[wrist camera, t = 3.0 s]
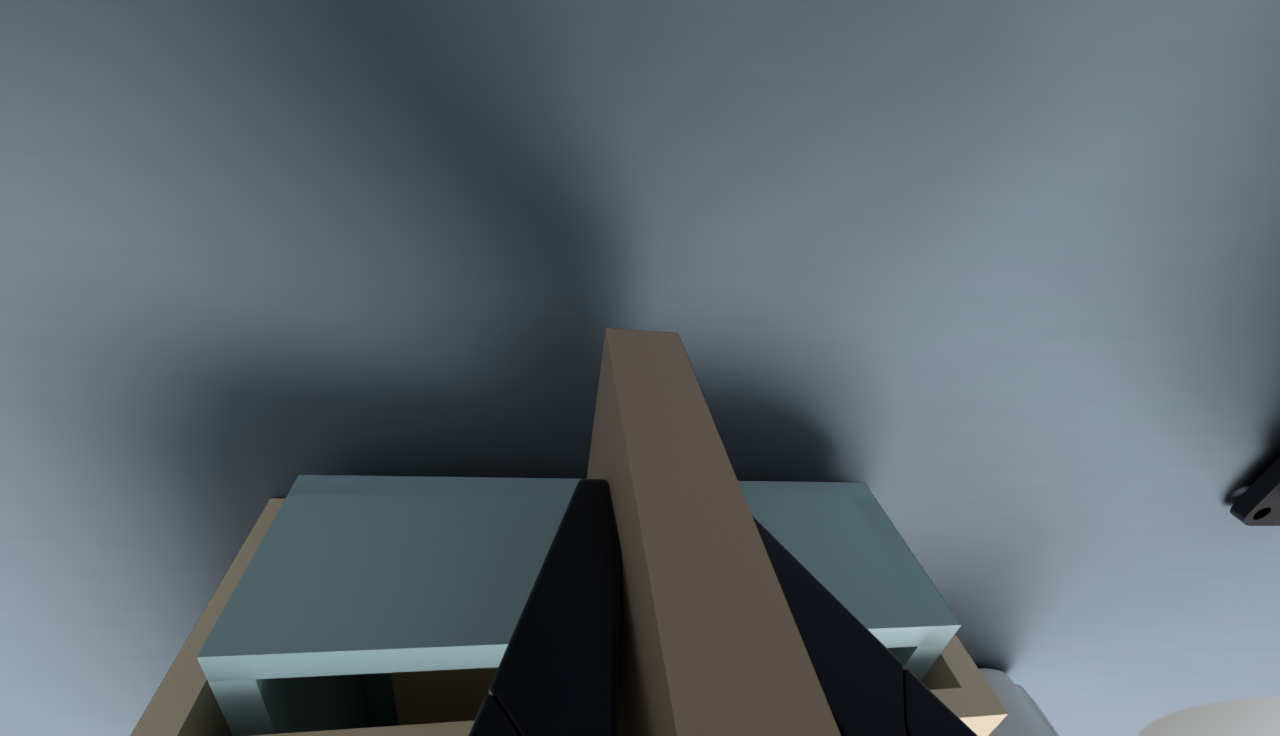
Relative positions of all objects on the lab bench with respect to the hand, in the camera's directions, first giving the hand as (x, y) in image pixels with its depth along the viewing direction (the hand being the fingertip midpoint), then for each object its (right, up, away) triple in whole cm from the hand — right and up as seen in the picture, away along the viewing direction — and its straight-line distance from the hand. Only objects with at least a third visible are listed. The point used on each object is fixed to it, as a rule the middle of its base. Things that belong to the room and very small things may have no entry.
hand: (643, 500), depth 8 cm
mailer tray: (-1, -5, +6) cm, 8 cm away
